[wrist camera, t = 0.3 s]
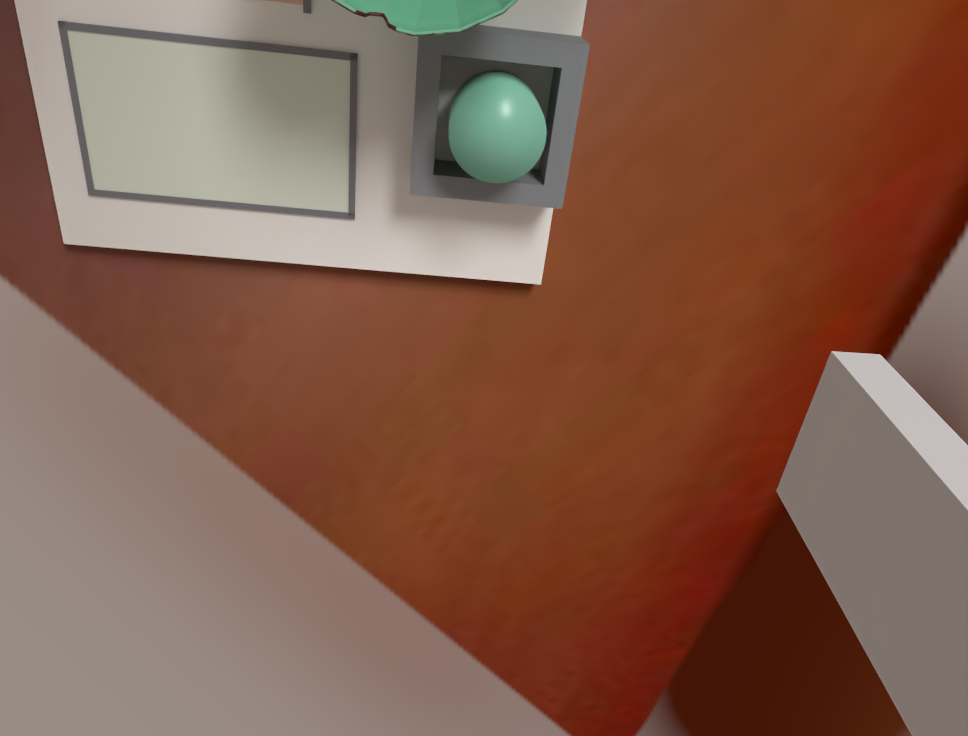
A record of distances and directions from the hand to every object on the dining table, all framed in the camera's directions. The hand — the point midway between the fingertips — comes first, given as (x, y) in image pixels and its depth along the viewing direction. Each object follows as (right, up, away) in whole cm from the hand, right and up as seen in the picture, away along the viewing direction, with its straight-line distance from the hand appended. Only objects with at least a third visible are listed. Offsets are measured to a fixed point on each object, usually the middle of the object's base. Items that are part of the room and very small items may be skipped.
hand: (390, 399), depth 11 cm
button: (+2, +12, +21) cm, 24 cm away
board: (-7, +13, +23) cm, 27 cm away
